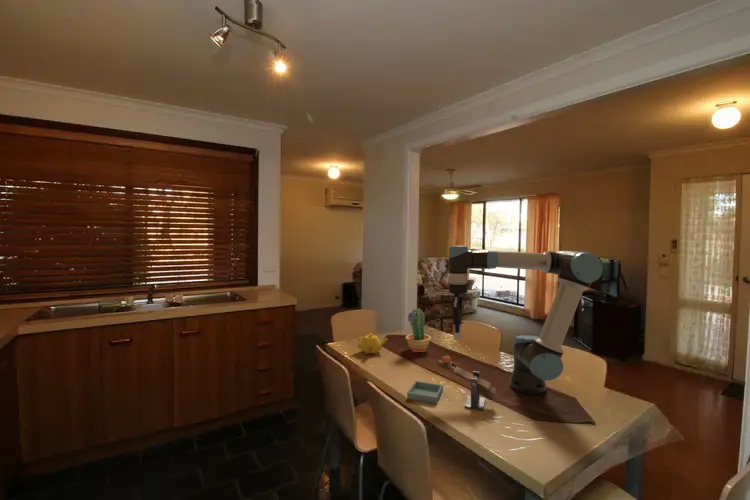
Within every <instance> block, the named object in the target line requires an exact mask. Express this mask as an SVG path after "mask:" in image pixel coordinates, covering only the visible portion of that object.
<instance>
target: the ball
mask: <svg viewBox="0 0 750 500" xmlns="http://www.w3.org/2000/svg"><path fill="white" fill-rule="evenodd" d="M442 357H443V359H442V361H443V363H444V364H447V365H448V364H450V362H451V361H452V359H451V357H450V356H449V355H445V356H442Z"/></svg>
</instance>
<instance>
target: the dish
mask: <svg viewBox="0 0 750 500" xmlns="http://www.w3.org/2000/svg"><path fill="white" fill-rule="evenodd" d="M443 392H444V385H443V384H437V383H434V382H433V383H431V382H426V381H419V380H415V381H414V382H413V384H411V387H410V388H409V389H408V390H407V392H406V399H407V400H410V401H417V402H422V403H427V404H433V405H438V402H439V400H440V398H441V396H442V394H443Z"/></svg>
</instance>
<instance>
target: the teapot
mask: <svg viewBox="0 0 750 500" xmlns="http://www.w3.org/2000/svg"><path fill="white" fill-rule="evenodd" d="M361 339H362V340H361ZM388 339H389V338H387V337H383V339H382V340H380V339H379V337H378V336H377V335H376V334H374V333H368V334H367V335H365V336H364V337H363V336H360V337H359V338H358V340H357V341H358V344H357V345H356V348H358V349H360V350H361V351H362V352H363V353H364V355H365V354H368V355H369V354H373V355H374V354H375V356H376V354H377V355H378V352H380V351H381V350H382V347H383V346H384V344H386V343H387V341H388ZM360 341H361V342H360Z"/></svg>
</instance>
